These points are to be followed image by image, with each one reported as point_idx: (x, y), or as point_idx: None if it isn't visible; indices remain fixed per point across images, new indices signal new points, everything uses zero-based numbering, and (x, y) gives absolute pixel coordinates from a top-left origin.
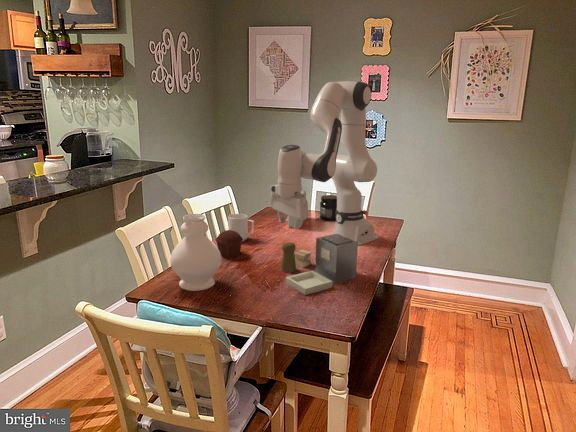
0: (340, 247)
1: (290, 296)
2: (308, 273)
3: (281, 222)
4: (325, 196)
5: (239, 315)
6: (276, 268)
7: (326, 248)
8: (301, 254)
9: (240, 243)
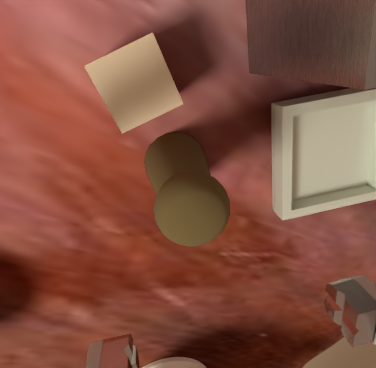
0: None
1: (349, 224)
2: (291, 132)
3: (138, 361)
4: None
5: None
6: (144, 197)
7: None
8: (162, 104)
9: None
